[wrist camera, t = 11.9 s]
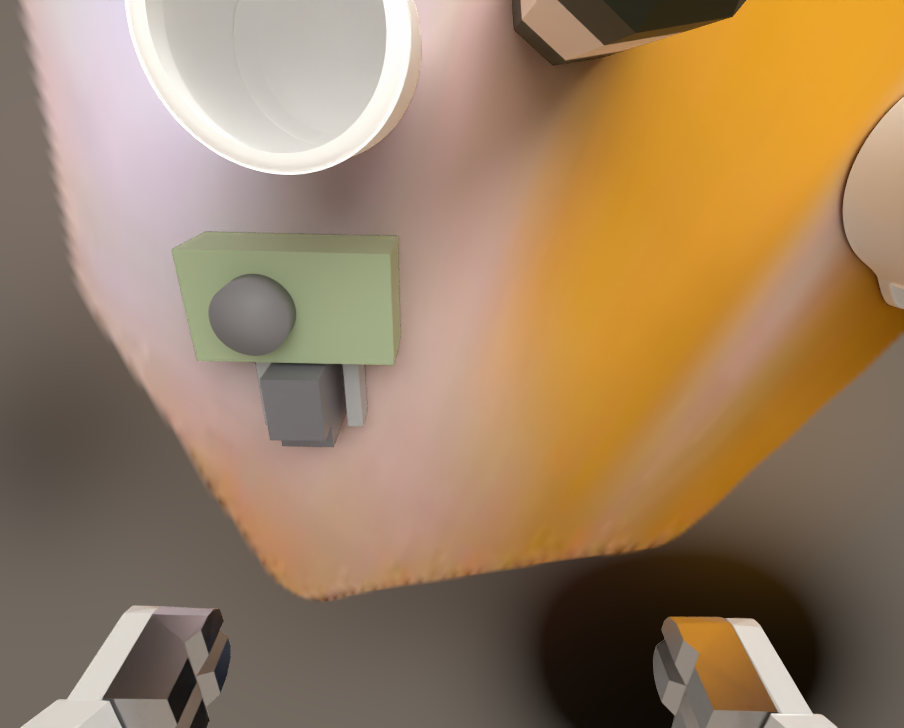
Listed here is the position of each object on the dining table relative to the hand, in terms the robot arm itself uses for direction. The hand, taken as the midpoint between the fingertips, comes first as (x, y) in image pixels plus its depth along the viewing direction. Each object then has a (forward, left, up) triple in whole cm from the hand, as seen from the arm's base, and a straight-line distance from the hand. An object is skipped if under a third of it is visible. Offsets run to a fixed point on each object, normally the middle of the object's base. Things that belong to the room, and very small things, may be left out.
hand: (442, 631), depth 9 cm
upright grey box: (+11, +12, -31) cm, 35 cm away
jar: (+7, -11, -31) cm, 34 cm away
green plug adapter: (+11, +8, -31) cm, 34 cm away
